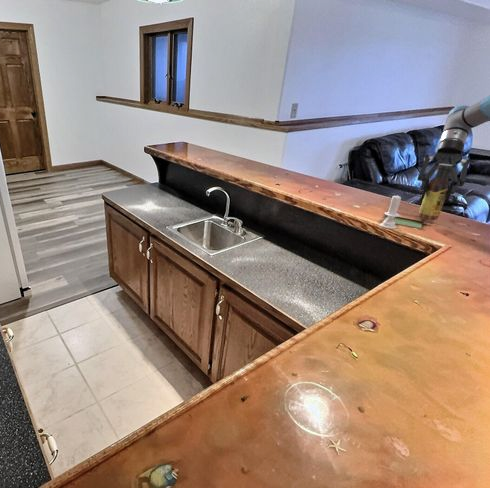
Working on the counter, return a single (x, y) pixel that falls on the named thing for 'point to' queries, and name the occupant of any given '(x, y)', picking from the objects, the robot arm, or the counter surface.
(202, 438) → the counter surface
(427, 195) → the sauce bottle
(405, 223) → the mat
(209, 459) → the counter surface
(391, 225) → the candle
